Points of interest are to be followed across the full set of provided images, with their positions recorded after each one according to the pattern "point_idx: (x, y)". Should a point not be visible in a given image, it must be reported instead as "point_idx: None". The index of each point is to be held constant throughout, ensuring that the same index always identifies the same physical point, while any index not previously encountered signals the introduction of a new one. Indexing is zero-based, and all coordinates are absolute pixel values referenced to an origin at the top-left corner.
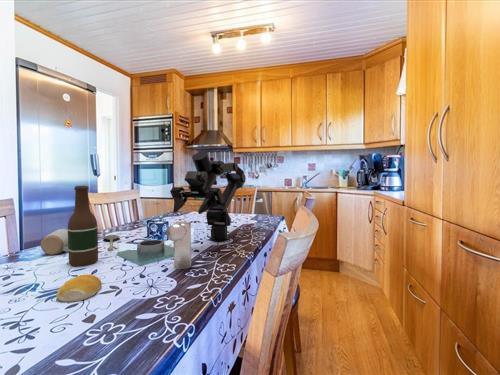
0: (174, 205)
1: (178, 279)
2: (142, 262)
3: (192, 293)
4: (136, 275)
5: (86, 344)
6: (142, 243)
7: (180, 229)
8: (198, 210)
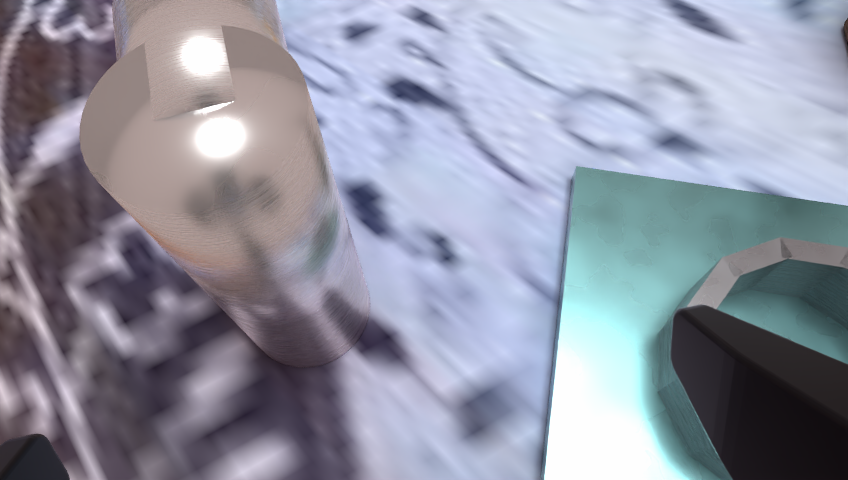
0: (842, 367)
1: None
2: (574, 182)
3: (35, 77)
4: (448, 83)
5: None
6: None
7: (114, 15)
8: (19, 452)
